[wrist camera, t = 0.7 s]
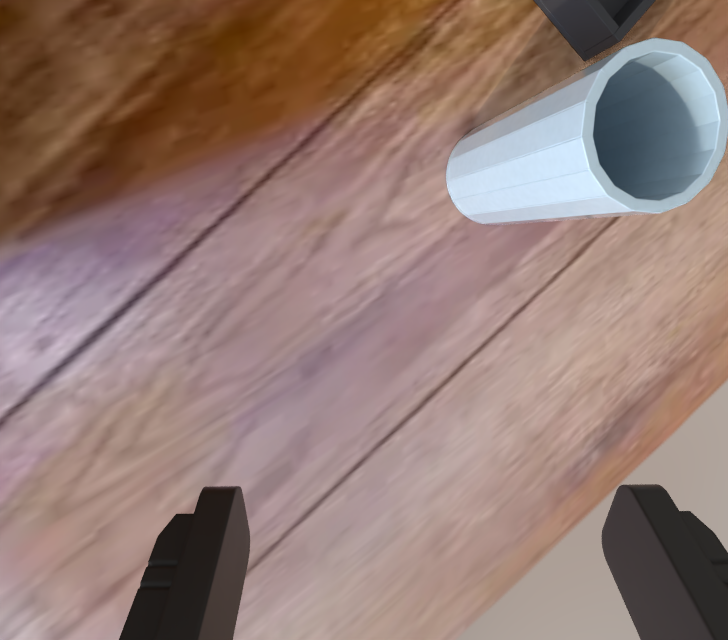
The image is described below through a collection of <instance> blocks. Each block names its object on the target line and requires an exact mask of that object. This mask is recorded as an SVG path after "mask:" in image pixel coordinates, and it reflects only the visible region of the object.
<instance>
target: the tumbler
mask: <svg viewBox="0 0 728 640" xmlns="http://www.w3.org/2000/svg"><path fill="white" fill-rule="evenodd" d="M727 136H728V106H727V100H726V95H725V89H724V87H723V84H722V82H721V81H720V79H719V77H718V76H717V74H716V72H715V71H714V69H713V67H712V66H711V64H710V62H709V61H708V60H707V59H706V58H705V57H704V56H702V55H701V54H699V53H698V52H697V51H695V50H694V49H692V48H691V47H690V46H688V45H687V44H685V43H683V42H680V41H673V40H667V39H660V38H650V39H647V40H644V41H641V42H638V43H635V44H632V45H629V46H626V47H624V48H622V49H620V50H618V51H617V52H615V53H613V54H611V55H609V56H607V57H605V58H604V59H602V60H600V61H598V62H596V63H594V64H593V65H591V66H589V67H587V68H585V69H583V70H581V71H580V72H578V73H576V74H574V75H572V76H570V77H568V78H567V79H565V80H563V81H561V82H559V83H557V84H556V85H554V86H552V87H550V88H548V89H546V90H544V91H543V92H541V93H539V94H537V95H535V96H533V97H532V98H530V99H528V100H526V101H524V102H522V103H520V104H519V105H517V106H515V107H513V108H511V109H509V110H507V111H506V112H504V113H502V114H500V115H498V116H496V117H495V118H493V119H491V120H489V121H487V122H485V123H483V124H482V125H480V126H478V127H476V128H474V129H473V130H472V131H470V132H469V133H467V134H466V135H465V136H464V137H463V138H462V139H461V140H460V141H459V142H458V143H457V144H456V146H455V147H454V149H453V151H452V153H451V155H450V158H449V161H448V164H447V171H446V180H447V187H448V191H449V194H450V197H451V199H452V201H453V203H454V204H455V206H456V207H457V208H458V210H459V211H460V212H461V213H462V214H463V215H465V216H466V217H467V218H469V219H471V220H472V221H475V222H477V223H481V224H486V225H507V224H521V223H534V222H548V221H561V220H575V219H589V218H602V217H616V216H629V215H643V214H657V213H663V212H665V211H668V210H670V209H673V208H676V207H678V206H681V205H684V204H686V203H687V202H689V201H690V200H691V199H692V198H693V197H694V196H695V195H697V194H698V193H699V192H700V191H701V190H702V189H703V188H704V187H705V186H706V185H707V184H708V183H709V182H710V181H711V179H712V177H713V175H714V173H715V171H716V169H717V167H718V165H719V163H720V161H721V159H722V157H723V155H724V152H725V149H726V143H727Z"/></svg>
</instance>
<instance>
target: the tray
mask: <svg viewBox="0 0 728 640" xmlns="http://www.w3.org/2000/svg"><path fill="white" fill-rule="evenodd" d="M534 1H535V2H536V4H537V5H538V6H539V7H540V8H541V10H542V11H543V12H544V13H545V14H546V16H547V17H548V18H549V19H550V20H551V22H552V23H553V24H554V25H555V26H556V28H557V29H558V30H559V31H560V32H561V33H562V35H563V36H564V37H565V38H566V39H567V41H568V42H569V43H570V44H571V45H572V47H573V48H574V49H575V50H576V51H577V53H578V54H579V55H580V56H581V57H582V59H583V60H584V61H587V60H588V59H590V58H592V57H594V56H595V55H597V54H599V53H601V52H602V51H604V50H606V49H608V48H609V47H611V46H613V45H615V44H617V43H618V42H620V41H621V40H622V38H623V37H624V36H625V35H626V34H627V33H628V32H629V30H630V29H631V28H632V27H633V26H634V25H635V23H636V22H637V21H638V20H639V19H640V18H641V17H642V15H643V14H644V13H645V12H646V11H647V10H648V8H649V7H650V6H651V5H652V4H653V3H654V2H655V0H534Z"/></svg>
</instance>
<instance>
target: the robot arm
mask: <svg viewBox="0 0 728 640" xmlns="http://www.w3.org/2000/svg"><path fill="white" fill-rule="evenodd" d="M602 547H603V552H604V556H605V559H606V561H607V563H608V566H609V568H610V570H611V573H612V575H613V577H614V580H615V582H616V584H617V586H618V589H619V591H620V593H621V595H622V598H623V600H624V602H625V605H626V607H627V609H628V611H629V614H630V616H631V618H632V621H633V623H634V625H635V627H636V629H637V632H638V634H639V636H640V639H641V640H728V553H727V551H726V550H725V548H724V547H723V545H722V544H721V542H720V541H719V539H718V538H717V536H716V535H715V534H714V532H713V531H712V530H710V529H709V528H708V527H707V526H706V525H705V524H704V523H703V522H701V521H700V520H699V519H698V518H697V517H696V516H695V515H694V514H692V513H691V512H690V511H679V510H678V508H677V507H676V505H675V504H674V502H673V500H672V499H671V497H670V496H669V494H668V493H667V491H666V490H665V489H664V488H663V487H662V486H660V485H656V484H655V485H621V486H619V488H618V489H617V492H616V494H615V497H614V500H613V502H612V505H611V508H610V510H609V513H608V516H607V519H606V522H605V524H604V527H603V530H602ZM249 551H250V531H249V526H248V520H247V515H246V510H245V504H244V499H243V494H242V489H241V487H239V486H231V487H204V488H203V489H202V491H201V493H200V496H199V499H198V502H197V505H196V508H195V512H194V514H176V515H175V516H174V517H173V519H172V520H171V521H170V522H169V523H168V525H167V526H166V527H165V528H164V529H163V531H162V532H161V533H160V534H159V536H158V537H157V540H156V543H155V545H154V548H153V551H152V553H151V556H150V559H149V561H148V562H149V564H148V567H146V569H145V572H144V575H143V577H142V580H141V583H140V584H141V585H140V588H139V589H138V591H137V593H136V596H135V599H134V601H133V604H132V607H131V609H130V612H129V615H128V617H127V620H126V622H125V625H124V628H123V630H122V633H121V636H120V638H119V640H233V635H234V630H235V625H236V620H237V615H238V610H239V605H240V600H241V595H242V590H243V585H244V580H245V575H246V570H247V565H248V559H249Z"/></svg>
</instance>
